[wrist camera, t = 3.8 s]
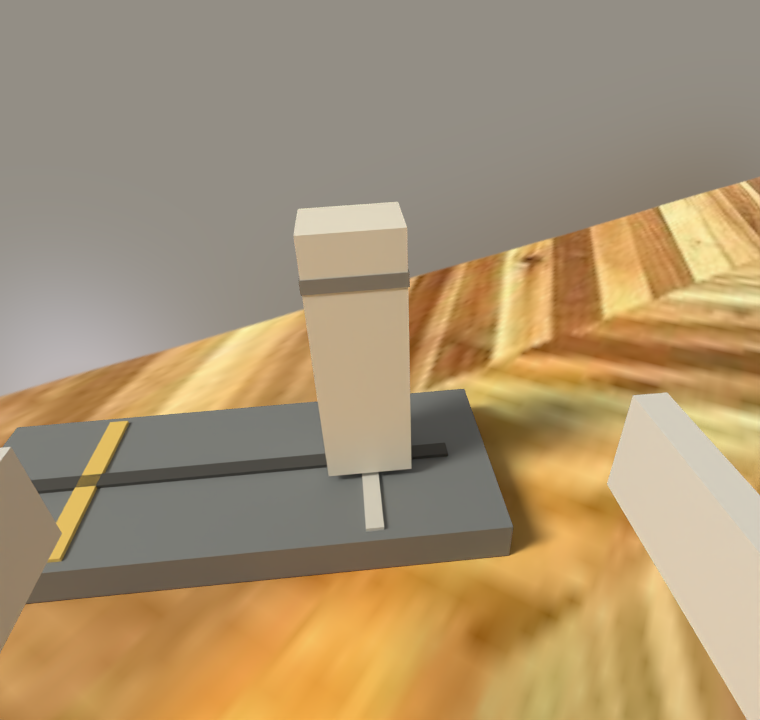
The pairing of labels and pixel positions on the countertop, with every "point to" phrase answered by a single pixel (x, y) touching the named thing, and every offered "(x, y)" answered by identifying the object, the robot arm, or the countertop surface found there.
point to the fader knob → (358, 332)
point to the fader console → (253, 499)
